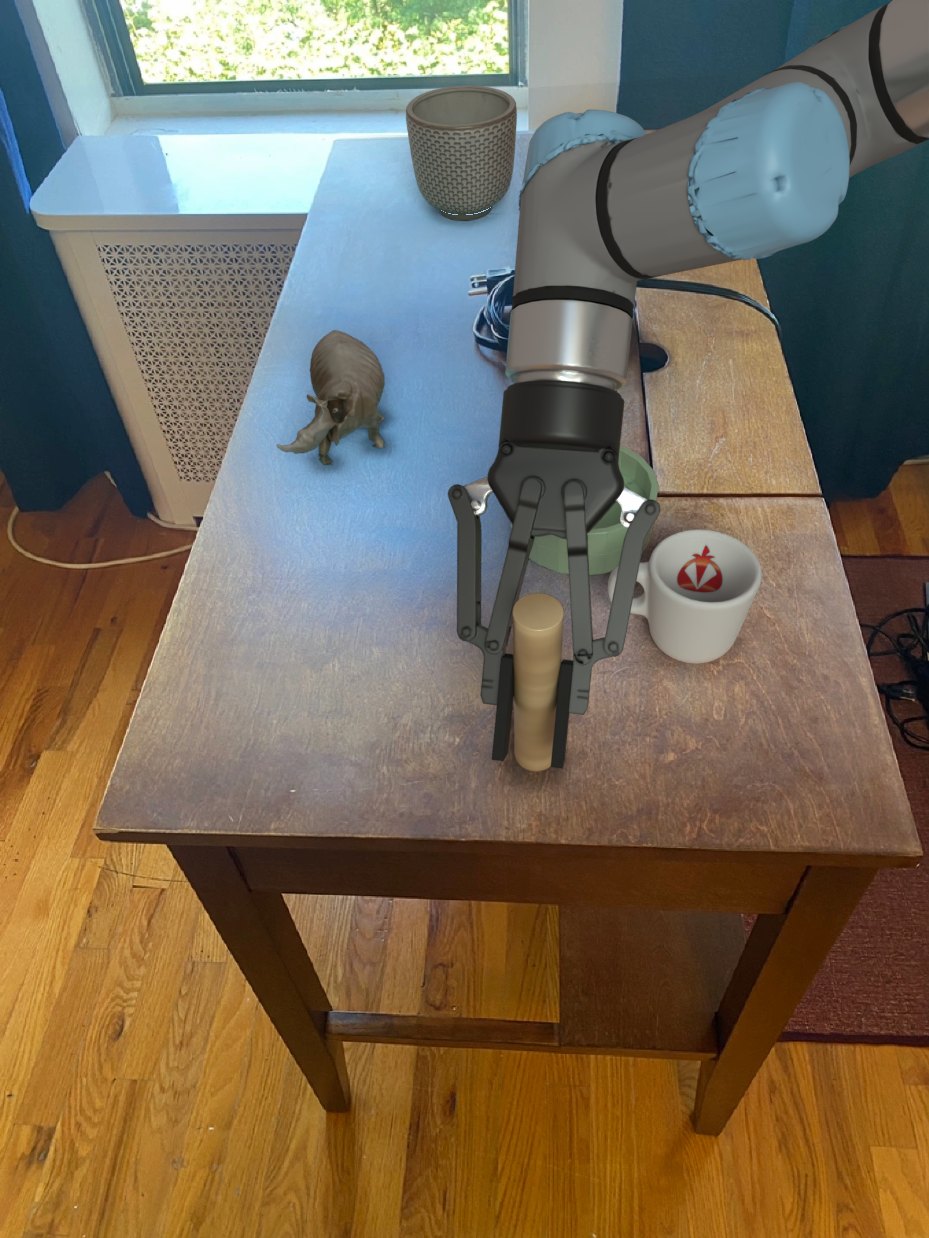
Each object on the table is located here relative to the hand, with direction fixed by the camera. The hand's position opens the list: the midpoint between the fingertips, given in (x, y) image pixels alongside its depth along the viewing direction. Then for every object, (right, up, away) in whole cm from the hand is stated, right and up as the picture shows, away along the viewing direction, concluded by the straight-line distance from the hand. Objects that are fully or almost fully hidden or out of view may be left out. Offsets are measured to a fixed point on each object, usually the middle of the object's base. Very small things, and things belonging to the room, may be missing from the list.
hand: (528, 758), depth 58 cm
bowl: (+6, +17, +22) cm, 28 cm away
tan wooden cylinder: (+1, -1, +6) cm, 6 cm away
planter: (-4, +64, +65) cm, 91 cm away
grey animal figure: (-16, +26, +32) cm, 44 cm away
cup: (+12, +8, +14) cm, 20 cm away
